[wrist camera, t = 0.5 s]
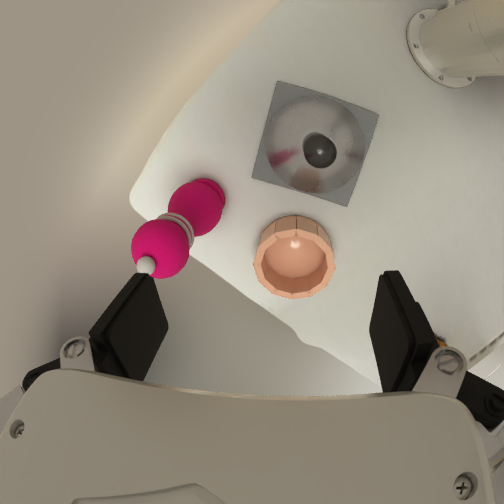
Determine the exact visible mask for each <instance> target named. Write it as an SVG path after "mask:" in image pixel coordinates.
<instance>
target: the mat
mask: <svg viewBox="0 0 504 504" xmlns="http://www.w3.org/2000/svg"><path fill="white" fill-rule="evenodd" d="M304 97H324V98H327V99H331V100H333V101H336V102H338V103H339V104H341V105H343V106H344V107H345V108H347V109H348V110H349V111H350V112H351V113H352V114H353V115H354V117H355V118H356V119H357V121H358V122H359V124H360V126H361V129H362V131H363V135H364V140H365V153H364V158H363V162H364V160H365V157H366V154H367V151H368V148H369V145H370V142H371V139H372V136H373V133H374V130H375V127H376V124H377V121H378V117H379V115H378V114H376V113H373V112H371V111H369V110H366V109H364V108H361V107H359V106H356V105H353V104H351V103H348V102H345V101H343V100H340V99H337V98H334V97H331V96H328V95H325V94H322V93H319V92H316V91H313V90H309V89H306V88H303V87H299V86H296V85H292V84H288V83H284V82H281V81H277V84H276V88H275V92H274V95H273V99H272V103H271V106H270V110H269V114H268V117H267V121H266V125H265V128H264V132H263V136H262V140H261V143H260V147H259V151H258V155H257V158H256V162H255V166H254V170H253V174H252V178H254V179H258V180H261V181H265V182H268V183H272V184H275V185H279V186H282V187H286V188H289V189H292V190H296V191H299V192H302V193H305V194H309V195H312V196H315V197H318V198H321V199H324V200H327V201H330V202H333V203H336V204H339V205H342V206H345V207H347V206H348V203H349V201H350V198H351V195H352V193H353V190H354V187H355V185H356V182H357V179H358V176H359V174H360V171H361V168H362V165H363V162H362V164H361V167H360V169H359V170H358V172H357V173H356V175H355V176H354V177H353V178H352V179H351V180H350V181H349V182H348V183H347V184H345V185H344V186H342V187H340V188H338V189H336V190H334V191H330V192H326V193H308V192H304V191H300V190H298V189H295V188H293V187H291V186H290V185H288V184H287V183H285V182H284V181H283V180H282V179H281V178H280V177H279V176H278V175H277V174H276V173H275V171H274V170H273V168H272V166H271V164H270V163H269V160H268V157H267V153H266V144H265V143H266V134H267V130H268V127H269V124H270V123H271V121H272V119H273V117H274V116H275V115H276V113H277V112H278V111H279V110H280V109H281V108H283V107H284V106H285V105H287V104H288V103H290V102H292V101H294V100H297V99H300V98H304Z"/></svg>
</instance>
